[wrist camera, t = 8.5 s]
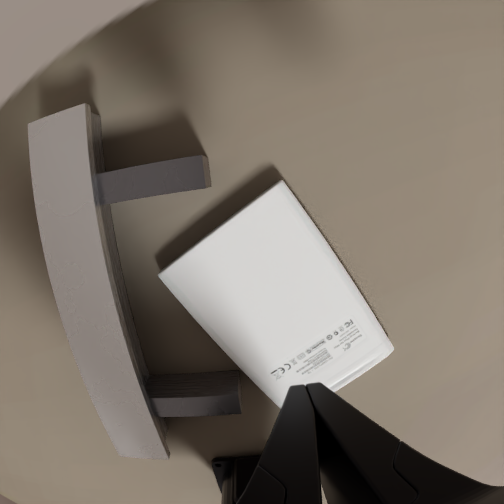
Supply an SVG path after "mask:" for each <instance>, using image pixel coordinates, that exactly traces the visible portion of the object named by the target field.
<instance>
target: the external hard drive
mask: <svg viewBox="0 0 504 504" xmlns="http://www.w3.org/2000/svg"><path fill="white" fill-rule="evenodd" d="M158 277H159V278H160V279H161V280H162V281H163V283H164V284H165V285H166V286H167V287H168V289H169V290H170V291H171V292H172V293H173V295H174V296H175V297H176V298H177V299H178V300H179V302H180V303H181V304H182V305H183V306H184V307H185V308H186V310H187V311H188V312H189V313H190V314H191V315H192V316H193V318H194V319H195V320H196V321H197V322H198V323H199V324H200V325H201V327H202V328H203V329H204V330H205V331H206V332H207V333H208V334H209V335H210V337H211V338H212V339H213V340H214V341H215V342H216V343H217V344H218V345H219V346H220V347H221V348H222V350H223V351H224V352H225V353H226V354H227V355H228V356H229V357H230V358H231V359H232V360H233V361H234V362H235V363H236V365H237V366H238V367H239V368H240V369H241V370H242V371H243V372H244V373H245V374H246V375H247V376H248V377H249V378H250V379H251V380H252V381H253V382H254V383H255V384H256V385H257V386H258V387H259V388H260V389H261V390H262V391H263V392H264V393H265V394H266V395H267V396H268V397H269V398H270V399H271V400H272V401H273V402H274V403H275V404H276V405H277V406H278V407H279V408H280V409H281V407H282V405H283V402H284V400H285V397H286V395H287V392H288V389H289V387H290V386H292V385H300V384H304V385H305V386H306V384H308V383H316V382H320V383H322V384H324V385H325V386H326V387H328V388H329V389H330V390H332V391H333V392H335V391H337V390H338V389H340V388H342V387H343V386H345V385H346V384H348V383H350V382H351V381H353V380H354V379H356V378H357V377H359V376H360V375H361V374H363V373H364V372H366V371H367V370H369V369H370V368H372V367H373V366H375V365H376V364H377V363H379V362H380V361H382V360H383V359H384V358H386V357H387V356H388V355H389V354H391V352H392V351H393V350H394V347H393V345H392V344H391V342H390V340H389V339H388V337H387V335H386V334H385V332H384V330H383V328H382V327H381V325H380V324H379V322H378V320H377V319H376V317H375V315H374V314H373V312H372V310H371V309H370V307H369V306H368V304H367V303H366V301H365V299H364V298H363V296H362V295H361V293H360V291H359V290H358V288H357V287H356V285H355V284H354V282H353V281H352V279H351V277H350V276H349V274H348V273H347V271H346V270H345V268H344V267H343V265H342V264H341V262H340V261H339V259H338V258H337V256H336V255H335V253H334V252H333V250H332V249H331V247H330V246H329V244H328V243H327V241H326V240H325V238H324V237H323V236H322V234H321V233H320V231H319V230H318V228H317V227H316V225H315V224H314V223H313V221H312V220H311V218H310V217H309V216H308V214H307V213H306V211H305V210H304V209H303V207H302V206H301V204H300V203H299V202H298V200H297V199H296V197H295V196H294V195H293V193H292V192H291V190H290V189H289V188H288V186H287V185H286V184H285V182H284V181H283V180H279V181H278V182H276V183H275V184H274V185H272V186H271V187H270V188H268V189H267V190H265V191H264V192H263V193H261V194H260V195H259V196H257V197H256V198H255V199H253V200H252V201H251V202H249V203H248V204H247V205H245V206H244V207H243V208H241V209H240V210H239V211H237V212H236V213H235V214H233V215H232V216H231V217H229V218H228V219H227V220H226V221H224V222H223V223H222V224H220V225H219V226H218V227H216V228H215V229H214V230H212V231H211V232H210V233H209V234H207V235H206V236H205V237H203V238H202V239H201V240H200V241H198V242H197V243H196V244H194V245H193V246H192V247H190V248H189V249H188V250H187V251H185V252H184V253H183V254H181V255H180V256H179V257H178V258H176V259H175V260H174V261H173V262H171V263H170V264H169V265H167V266H166V267H165V268H164V269H162V270H161V271H160V273H159V274H158Z"/></svg>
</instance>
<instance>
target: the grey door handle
mask: <svg viewBox="0 0 504 504" xmlns="http://www.w3.org/2000/svg"><path fill="white" fill-rule="evenodd" d="M28 140H29V156H30V167H31V177H32V186H33V194H34V201H35V208H36V215H37V221H38V226H39V232H40V237H41V242H42V247H43V252H44V257H45V261H46V265H47V270H48V274H49V278H50V282H51V285H52V289H53V293H54V297H55V300H56V304H57V307H58V310H59V314H60V317H61V320H62V323H63V326H64V329H65V332H66V335H67V338H68V341H69V344H70V347H71V350H72V352H73V355H74V358H75V361H76V363H77V366H78V368H79V371H80V373H81V376H82V378H83V381H84V383H85V386H86V388H87V390H88V393H89V395H90V397H91V399H92V402H93V404H94V406H95V408H96V410H97V413H98V415H99V417H100V419H101V421H102V423H103V425H104V427H105V429H106V431H107V433H108V435H109V437H110V439H111V441H112V443H113V445H114V446H115V448H116V450H117V452H118V454H119V456H122V457H133V458H147V459H169V458H170V451H169V449H168V446H167V444H166V441H165V440H166V436H167V432H168V427H167V425H166V422H165V419H164V417H191V416H215V415H230V414H241V411H242V388H241V382H240V376H239V370H233V371H221V372H208V373H192V374H171V375H149V372H148V369H147V366H146V363H145V359H144V356H143V353H142V349H141V346H140V342H139V339H138V335H137V331H136V328H135V324H134V320H133V316H132V312H131V309H130V304H129V300H128V296H127V292H126V288H125V283H124V279H123V274H122V270H121V265H120V260H119V255H118V250H117V245H116V239H115V234H114V228H113V222H112V216H111V210H110V204H111V203H116V202H121V201H127V200H133V199H138V198H144V197H150V196H156V195H163V194H169V193H176V192H182V191H189V190H196V189H203V188H208V187H211V178H210V170H209V162H208V158H207V157H205V156H203V155H197V156H191V157H184V158H178V159H172V160H166V161H161V162H155V163H150V164H144V165H139V166H134V167H129V168H124V169H119V170H115V171H110V172H105V165H104V156H103V145H102V134H101V121H100V116H99V115H96V114H94V113H91V109H90V105H88V104H86V103H84V104H81V105H78V106H75V107H72V108H69V109H66V110H63V111H60V112H57V113H54V114H52V115H49V116H46V117H44V118H41V119H38V120H36V121H33V122H31V123H28Z"/></svg>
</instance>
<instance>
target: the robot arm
mask: <svg viewBox="0 0 504 504" xmlns="http://www.w3.org/2000/svg"><path fill="white" fill-rule="evenodd" d="M212 468H213V470H214V473H215V476H216V479H217V482H218V485H219V487H220V490H221V493H222V503H221V504H322V494H321V484H322V488H323V491H324V494H325V497H326V500H327V503H328V504H504V486H491V485H487V484H483V483H481V482H478V481H476V480H474V479H471V478H469V477H467V476H465V475H462V474H460V473H458V472H456V471H454V470H452V469H449V468H447V467H445V466H443V465H441V464H439V463H437V462H435V461H433V460H432V459H430V458H428V457H426V456H424V455H423V454H421V453H419V452H418V451H416V450H415V449H413V448H412V447H410V446H409V445H407V444H406V443H404V442H403V441H401V442H400V439H398V438H397V437H395V436H394V435H392V434H391V433H389V432H388V431H387V430H385V429H384V428H382V427H381V426H379V425H378V424H377V423H375V422H374V421H372V420H371V419H370V418H368V417H367V416H365V415H364V414H363V413H361V412H360V411H359V410H357V409H356V408H354V407H353V406H352V405H350V404H349V403H348V402H346V401H345V400H344V399H342V398H341V397H340V396H338V395H337V394H336V393H334V392H333V391H332V390H330V389H329V388H328V387H326V386H325V385H324V384H322V383H320V382H316V383H308V384H306V386H305V385H304V384H300V385H292V386H290V387H289V389H288V392H287V395H286V397H285V400H284V402H283V405H282V407H281V410H280V412H279V415H278V417H277V420H276V422H275V425H274V427H273V429H272V432H271V434H270V437H269V439H268V441H267V444H266V446H265V448H264V451H263V453H262V455H256V456H244V457H228V458H215V459H213V460H212Z"/></svg>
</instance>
